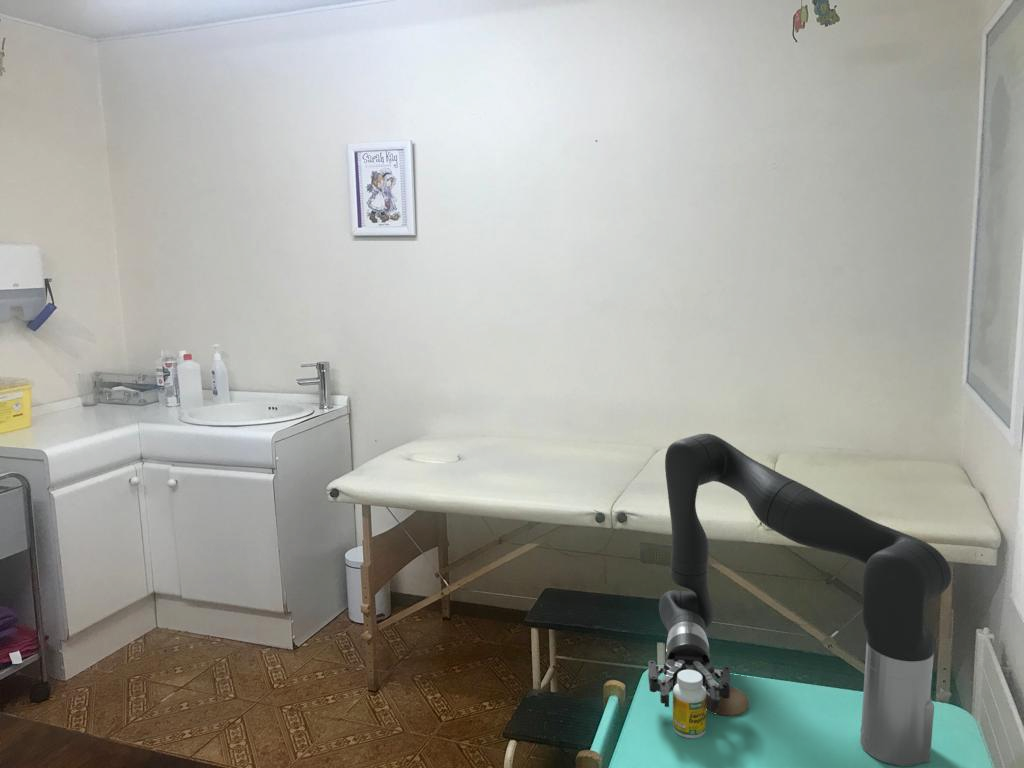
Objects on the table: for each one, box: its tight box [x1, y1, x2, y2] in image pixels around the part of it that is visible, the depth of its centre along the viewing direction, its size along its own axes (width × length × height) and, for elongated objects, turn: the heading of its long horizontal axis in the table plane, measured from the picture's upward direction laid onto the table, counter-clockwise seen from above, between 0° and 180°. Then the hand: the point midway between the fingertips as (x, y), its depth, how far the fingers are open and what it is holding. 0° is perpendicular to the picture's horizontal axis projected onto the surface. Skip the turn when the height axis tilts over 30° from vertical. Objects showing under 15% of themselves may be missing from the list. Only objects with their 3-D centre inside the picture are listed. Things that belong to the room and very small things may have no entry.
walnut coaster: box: [706, 685, 750, 717], centre depth 140 cm, size 8×8×1 cm
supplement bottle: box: [672, 670, 707, 739], centre depth 132 cm, size 5×5×10 cm
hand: (690, 703), depth 129 cm, fingers open, 6 cm apart
